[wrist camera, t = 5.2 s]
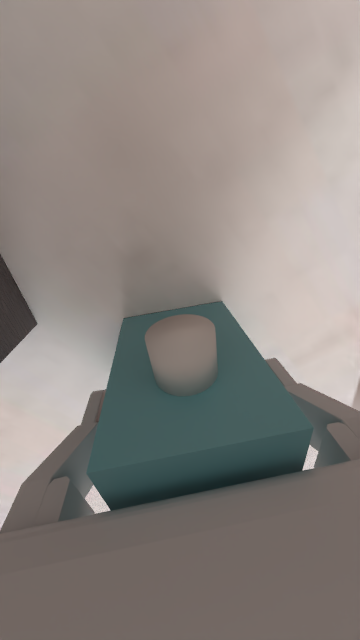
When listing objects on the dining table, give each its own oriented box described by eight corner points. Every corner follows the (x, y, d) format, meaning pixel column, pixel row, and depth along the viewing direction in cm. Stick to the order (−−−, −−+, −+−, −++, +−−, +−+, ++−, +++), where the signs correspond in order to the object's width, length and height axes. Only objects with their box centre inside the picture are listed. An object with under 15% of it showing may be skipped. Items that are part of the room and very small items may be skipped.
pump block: (145, 389, 13) (139, 552, 7) (115, 290, 10) (56, 429, 4) (224, 374, 13) (288, 520, 7) (220, 272, 10) (328, 377, 4)
